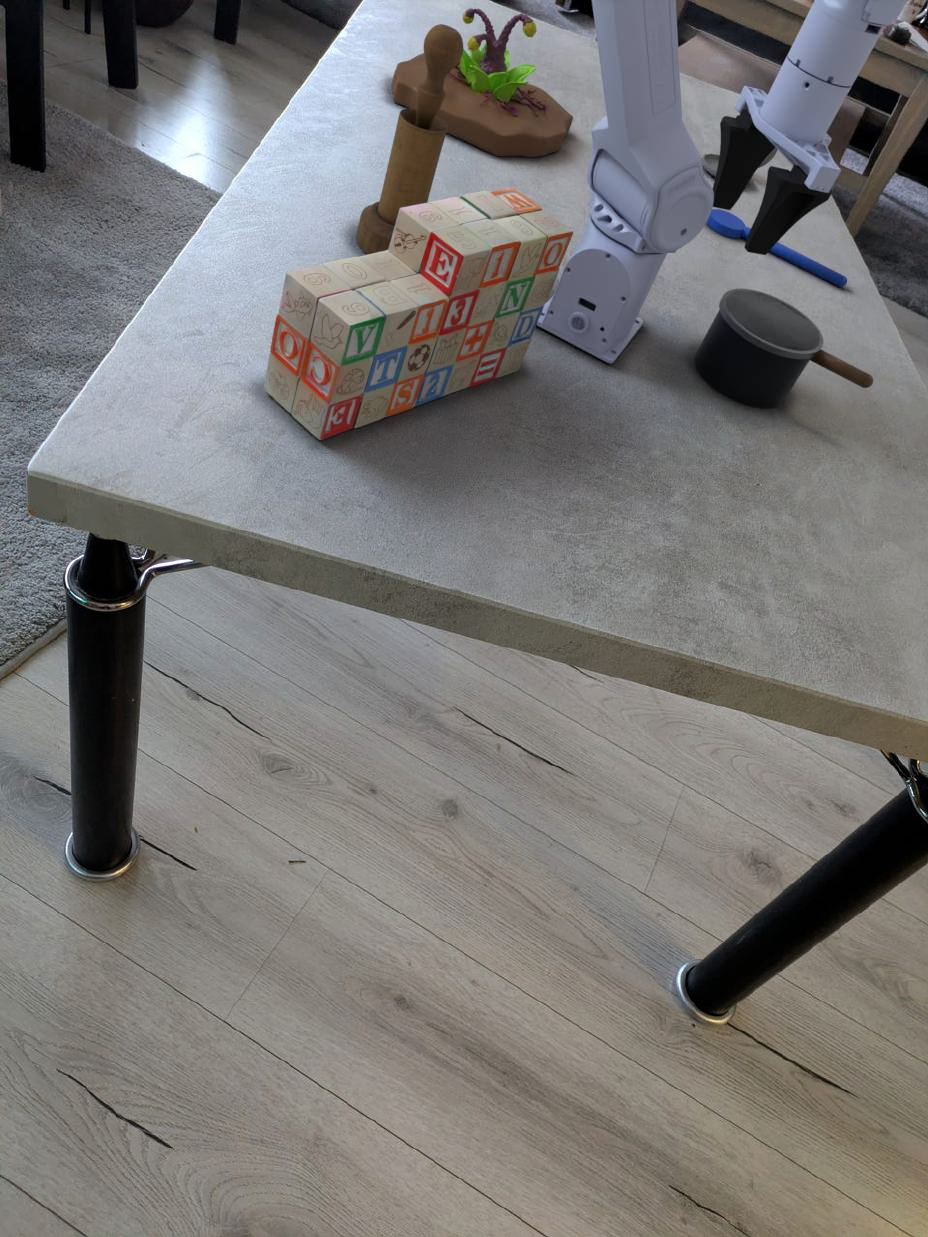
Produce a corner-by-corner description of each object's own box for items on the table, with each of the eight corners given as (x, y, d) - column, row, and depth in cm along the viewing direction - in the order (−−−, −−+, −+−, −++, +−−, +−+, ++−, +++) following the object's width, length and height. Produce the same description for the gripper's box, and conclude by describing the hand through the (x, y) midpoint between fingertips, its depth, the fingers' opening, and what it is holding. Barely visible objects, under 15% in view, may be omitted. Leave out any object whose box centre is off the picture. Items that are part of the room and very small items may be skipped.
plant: (514, 174, 105) (551, 64, 97) (364, 90, 108) (388, -24, 100) (587, 136, 119) (625, 37, 111) (453, 63, 122) (480, -39, 114)
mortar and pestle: (346, 223, 87) (395, 0, 74) (413, 230, 90) (472, 17, 77) (367, 265, 83) (423, 38, 71) (437, 271, 86) (502, 54, 74)
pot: (831, 454, 85) (872, 398, 81) (679, 373, 87) (710, 314, 83) (847, 406, 92) (885, 352, 88) (705, 332, 94) (735, 275, 89)
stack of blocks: (319, 445, 66) (359, 280, 57) (260, 391, 68) (290, 223, 59) (520, 370, 79) (577, 228, 71) (466, 327, 81) (515, 183, 73)
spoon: (846, 281, 113) (852, 272, 112) (840, 295, 109) (846, 285, 109) (711, 212, 114) (715, 203, 113) (701, 224, 111) (706, 214, 110)
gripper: (904, 121, 76) (809, 279, 86) (816, 44, 85) (739, 195, 94) (832, 103, 73) (743, 267, 83) (750, 25, 82) (677, 182, 92)
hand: (736, 228), depth 88 cm, fingers open, 7 cm apart
